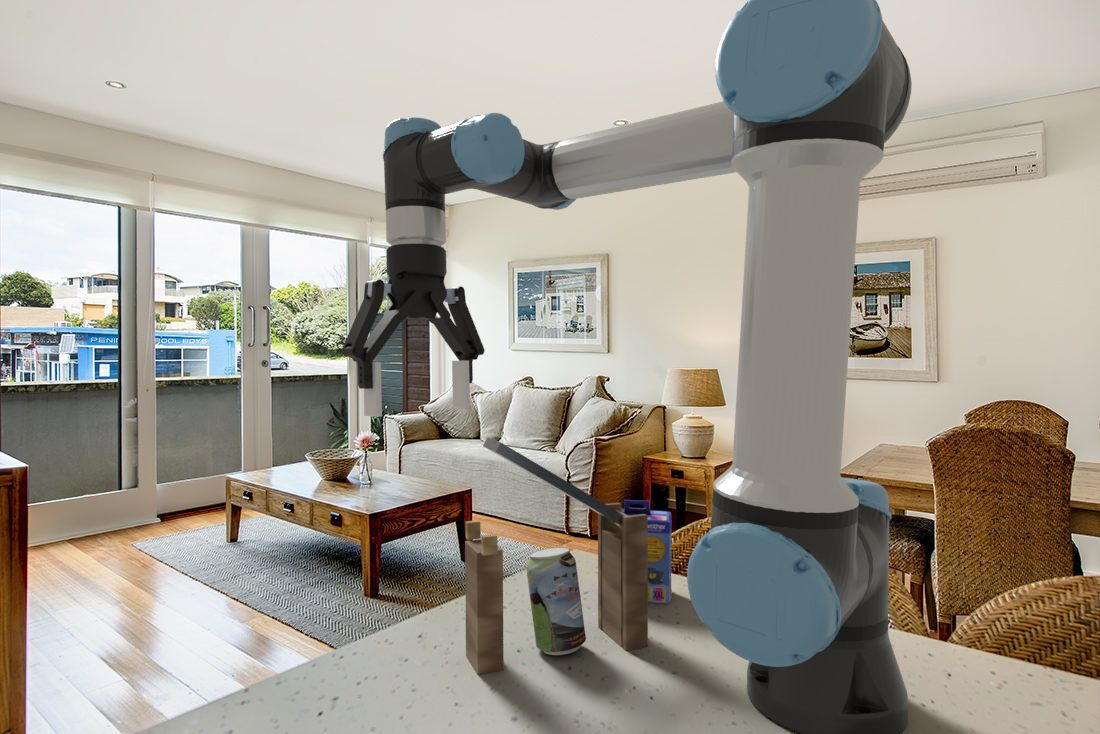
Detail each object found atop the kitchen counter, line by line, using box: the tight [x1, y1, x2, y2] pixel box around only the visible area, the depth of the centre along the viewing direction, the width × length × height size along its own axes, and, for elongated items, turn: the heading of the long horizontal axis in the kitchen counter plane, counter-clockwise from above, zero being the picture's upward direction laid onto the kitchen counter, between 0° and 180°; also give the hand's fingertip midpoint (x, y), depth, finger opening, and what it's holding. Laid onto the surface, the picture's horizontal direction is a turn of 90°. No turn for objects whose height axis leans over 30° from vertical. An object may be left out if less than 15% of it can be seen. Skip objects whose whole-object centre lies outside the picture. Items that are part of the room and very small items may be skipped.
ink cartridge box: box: [621, 499, 673, 605], centre depth 97 cm, size 10×6×14 cm, turn 79°
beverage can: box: [525, 546, 587, 656], centre depth 80 cm, size 6×7×12 cm
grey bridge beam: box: [482, 436, 628, 529], centre depth 80 cm, size 21×5×2 cm
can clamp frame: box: [464, 502, 649, 676], centre depth 80 cm, size 21×7×16 cm, turn 112°
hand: (419, 412), depth 85 cm, fingers open, 13 cm apart
